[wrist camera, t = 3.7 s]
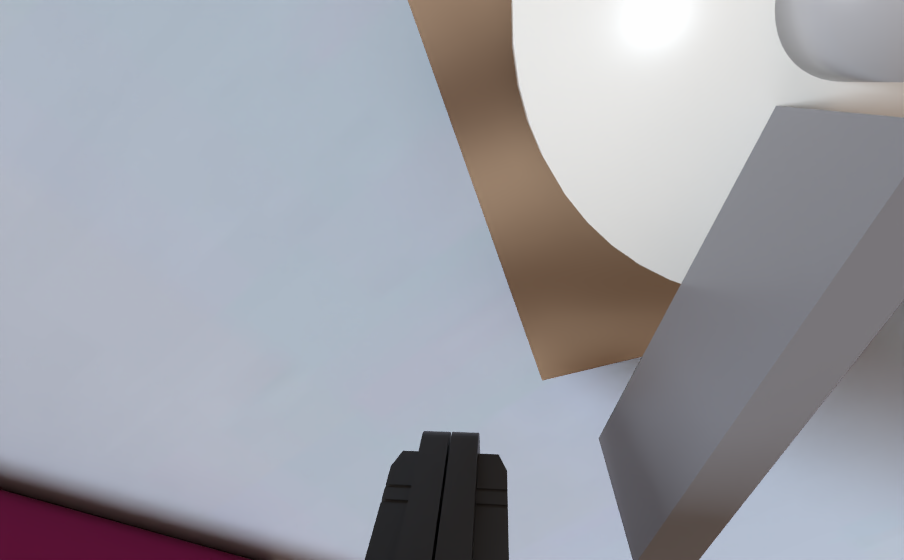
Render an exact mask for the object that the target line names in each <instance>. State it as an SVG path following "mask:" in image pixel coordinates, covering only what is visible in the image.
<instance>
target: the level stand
mask: <svg viewBox="0 0 904 560" xmlns="http://www.w3.org/2000/svg"><path fill="white" fill-rule="evenodd" d="M408 2H409V5H410V8H411V11H412V13H413V16H414V19H415V22H416V25H417V27H418V30H419V33H420V36H421V39H422V42H423V44H424V47H425V50H426V53H427V56H428V59H429V61H430V64H431V67H432V70H433V73H434V76H435V78H436V81H437V84H438V87H439V90H440V93H441V95H442V98H443V101H444V104H445V107H446V109H447V112H448V115H449V118H450V121H451V124H452V126H453V129H454V132H455V135H456V138H457V141H458V143H459V146H460V149H461V152H462V155H463V158H464V160H465V163H466V166H467V169H468V172H469V175H470V177H471V180H472V183H473V186H474V189H475V191H476V194H477V197H478V200H479V203H480V206H481V208H482V211H483V214H484V217H485V220H486V223H487V225H488V228H489V231H490V234H491V237H492V240H493V242H494V245H495V248H496V251H497V254H498V257H499V259H500V262H501V265H502V268H503V271H504V273H505V276H506V279H507V282H508V285H509V288H510V290H511V293H512V296H513V299H514V302H515V305H516V307H517V310H518V313H519V316H520V319H521V322H522V324H523V327H524V330H525V333H526V336H527V339H528V341H529V344H530V347H531V350H532V353H533V355H534V358H535V361H536V364H537V367H538V370H539V372H540V375H541V378H542V380H546V379H550V378H554V377H559V376H563V375H567V374H571V373H575V372H580V371H584V370H588V369H592V368H596V367H600V366H605V365H609V364H613V363H617V362H621V361H626V360H630V359H634V358H638V357H642V356H643V354H644V352H645V351H646V349H647V347H648V345H649V343H650V341H651V339H652V337H653V336H654V334H655V332H656V330H657V328H658V326H659V324H660V322H661V321H662V319H663V317H664V315H665V313H666V311H667V309H668V307H669V306H670V304H671V302H672V300H673V298H674V296H675V294H676V292H677V291H678V289H679V287H680V285H681V284H680V283H677V282H674V281H671V280H669V279H667V278H665V277H663V276H661V275H659V274H657V273H655V272H653V271H651V270H649V269H647V268H645V267H643V266H641V265H639V264H638V263H637V262H635V261H634V260H632V259H631V258H629V257H628V256H627V255H625V254H624V253H622V252H621V251H619V250H618V249H616V248H615V247H614V246H612V245H611V244H610V243H609V242H608V241H607V240H606V239H605V238H604V237H603V236H601V235H600V234H599V233H598V232H597V231H596V230H595V229H594V228H593V227H592V226H591V225H590V224H589V223H588V222H587V221H586V220H585V219H584V218H583V216H582V215H581V214H580V213H579V211H578V210H577V209H576V208H575V206H574V205H573V204H572V203H571V201H570V200H569V199H568V198H567V196H566V195H565V193H564V192H563V190H562V188H561V187H560V185H559V183H558V182H557V180H556V178H555V176H554V175H553V173H552V171H551V170H550V168H549V166H548V165H547V163H546V161H545V159H544V158H543V156H542V154H541V152H540V151H539V148H538V146H537V144H536V141H535V139H534V136H533V134H532V132H531V129H530V127H529V124H528V122H527V120H526V116H525V112H524V108H523V105H522V101H521V97H520V94H519V90H518V86H517V80H516V73H515V65H514V58H513V51H512V23H511V2H512V0H408Z"/></svg>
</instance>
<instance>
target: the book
mask: <svg viewBox="0 0 904 560" xmlns="http://www.w3.org/2000/svg"><path fill="white" fill-rule="evenodd" d="M0 560H251V559H248V558H244V557H241V556H237V555H233V554H230V553H226V552H223V551H219V550H216V549H212V548H208V547H205V546H201V545H198V544H194V543H190V542H187V541H183V540H180V539H176V538H173V537H169V536H165V535H162V534H158V533H155V532H151V531H147V530H144V529H140V528H137V527H133V526H130V525H126V524H122V523H119V522H115V521H112V520H108V519H104V518H101V517H97V516H94V515H90V514H87V513H83V512H79V511H76V510H72V509H69V508H65V507H61V506H58V505H54V504H51V503H47V502H44V501H40V500H36V499H33V498H29V497H26V496H22V495H18V494H15V493H11V492H8V491H4V490H1V489H0Z"/></svg>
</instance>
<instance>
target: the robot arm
mask: <svg viewBox="0 0 904 560" xmlns="http://www.w3.org/2000/svg"><path fill="white" fill-rule="evenodd" d="M365 560H509V548H508V500H507V470H506V468H505V466H504V464H503V462H502V460H501V458H500V457H499V455H496V454H480V440H479V433H466V432H452V436H451V432H434V431H424V432H423V434H422V439H421V443H420V448H419V452H418V451H403V452H402V453H401V454H400V455H399V457H398V458H397V459H396V460H395V462H394V463H393V464H392V465H391V468H390V472H389V475H388V479H387V482H386V487H385V489H384V493H383V497H382V503H381V504H380V507H379V511H378V514H377V518H376V522H375V525H374V529H373V532H372V536H371V539H370V543H369V547H368V550H367V554H366V557H365Z"/></svg>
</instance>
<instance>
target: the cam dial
mask: <svg viewBox="0 0 904 560" xmlns="http://www.w3.org/2000/svg"><path fill="white" fill-rule="evenodd" d="M511 23H512V51H513V58H514V65H515V73H516V80H517V86H518V90H519V94H520V97H521V101H522V105H523V108H524V112H525V116H526V120H527V122H528V124H529V127H530V129H531V132H532V134H533V136H534V139H535V141H536V144H537V146H538V148H539V151H540V152H541V154H542V156H543V158H544V159H545V161H546V163H547V165H548V166H549V168H550V170H551V171H552V173H553V175H554V176H555V178H556V180H557V182H558V183H559V185H560V187H561V188H562V190H563V192H564V193H565V195H566V196H567V198H568V199H569V200H570V201H571V203H572V204H573V205H574V206H575V208H576V209H577V210H578V211H579V213H580V214H581V215H582V216H583V218H584V219H585V220H586V221H587V222H588V223H589V224H590V225H591V226H592V227H593V228H594V229H595V230H596V231H597V232H598V233H599V234H600V235H601V236H603V237H604V238H605V239H606V240H607V241H608V242H609V243H610V244H611V245H612V246H614V247H615V248H616V249H618V250H619V251H621V252H622V253H624V254H625V255H627V256H628V257H629V258H631V259H632V260H634V261H635V262H637V263H638V264H639V265H641V266H643V267H645V268H647V269H649V270H651V271H653V272H655V273H657V274H659V275H661V276H663V277H665V278H667V279H669V280H671V281H674V282H677V283H680V284H681V285H680V287H679V289H678V291H677V292H676V294H675V296H674V298H673V300H672V302H671V304H670V306H669V307H668V309H667V311H666V313H665V315H664V317H663V319H662V321H661V322H660V324H659V326H658V328H657V330H656V332H655V334H654V336H653V337H652V339H651V341H650V343H649V345H648V347H647V349H646V351H645V352H644V354H643V356H642V358H641V360H640V362H639V364H638V366H637V367H636V369H635V371H634V373H633V375H632V377H631V379H630V381H629V382H628V384H627V386H626V388H625V390H624V392H623V394H622V396H621V397H620V399H619V401H618V403H617V405H616V407H615V409H614V411H613V412H612V414H611V416H610V418H609V420H608V422H607V424H606V426H605V427H604V429H603V431H602V433H601V435H600V437H599V441H600V444H601V448H602V451H603V455H604V459H605V462H606V466H607V469H608V473H609V476H610V480H611V484H612V487H613V491H614V494H615V498H616V501H617V505H618V509H619V512H620V516H621V519H622V523H623V526H624V530H625V534H626V537H627V541H628V544H629V548H630V551H631V555H632V559H633V560H699V559H700V558H701V556H702V555H703V554H704V552H705V551H706V550H707V549H708V547H709V546H710V545H711V544H712V542H713V541H714V540H715V539H716V537H717V536H718V535H719V533H720V532H721V531H722V530H723V528H724V527H725V526H726V525H727V523H728V522H729V521H730V520H731V518H732V517H733V516H734V514H735V513H736V512H737V511H738V509H739V508H740V507H741V506H742V504H743V503H744V502H745V501H746V499H747V498H748V497H749V495H750V494H751V493H752V492H753V490H754V489H755V488H756V487H757V485H758V484H759V483H760V481H761V480H762V479H763V478H764V476H765V475H766V474H767V473H768V471H769V470H770V469H771V468H772V466H773V465H774V464H775V462H776V461H777V460H778V459H779V457H780V456H781V455H782V454H783V452H784V451H785V450H786V449H787V447H788V446H789V445H790V443H791V442H792V441H793V440H794V438H795V437H796V436H797V435H798V433H799V432H800V431H801V430H802V428H803V427H804V426H805V424H806V423H807V422H808V421H809V419H810V418H811V417H812V416H813V414H814V413H815V412H816V410H817V409H818V408H819V407H820V405H821V404H822V403H823V402H824V400H825V399H826V398H827V397H828V395H829V394H830V393H831V391H832V390H833V389H834V388H835V386H836V385H837V384H838V383H839V381H840V380H841V379H842V378H843V376H844V375H845V374H846V372H847V371H848V370H849V369H850V367H851V366H852V365H853V364H854V362H855V361H856V360H857V359H858V357H859V356H860V355H861V353H862V352H863V351H864V350H865V348H866V347H867V346H868V345H869V343H870V342H871V341H872V339H873V338H874V337H875V336H876V334H877V333H878V332H879V331H880V329H881V328H882V327H883V326H884V324H885V323H886V322H887V320H888V319H889V318H890V317H891V315H892V314H893V313H894V312H895V310H896V309H897V308H898V307H899V305H900V304H901V303H902V301H903V300H904V0H512V2H511Z"/></svg>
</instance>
